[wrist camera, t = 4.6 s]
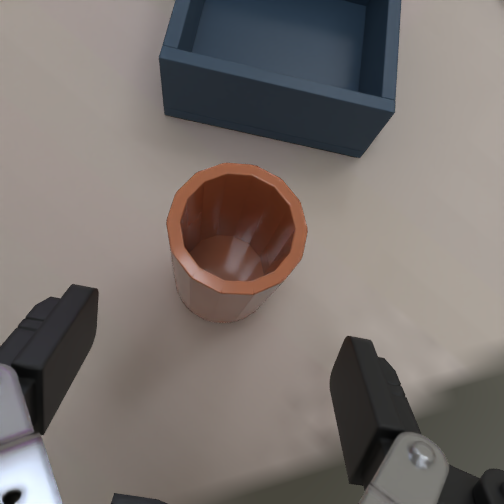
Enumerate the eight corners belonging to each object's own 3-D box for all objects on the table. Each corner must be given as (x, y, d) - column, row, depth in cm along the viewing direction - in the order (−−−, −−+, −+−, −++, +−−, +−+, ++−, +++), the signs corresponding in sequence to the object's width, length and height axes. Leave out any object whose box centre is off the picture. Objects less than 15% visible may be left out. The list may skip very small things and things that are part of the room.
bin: (360, 158, 27) (395, 112, 22) (164, 114, 25) (158, 57, 21) (372, 10, 30) (405, -55, 26) (203, -33, 29) (206, -109, 25)
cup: (154, 281, 22) (136, 231, 15) (218, 214, 24) (231, 137, 16) (227, 344, 22) (247, 325, 14) (287, 271, 24) (333, 220, 16)
